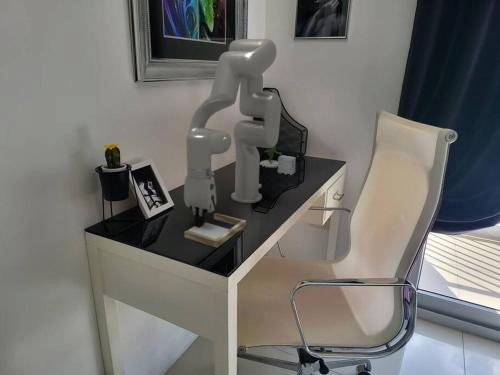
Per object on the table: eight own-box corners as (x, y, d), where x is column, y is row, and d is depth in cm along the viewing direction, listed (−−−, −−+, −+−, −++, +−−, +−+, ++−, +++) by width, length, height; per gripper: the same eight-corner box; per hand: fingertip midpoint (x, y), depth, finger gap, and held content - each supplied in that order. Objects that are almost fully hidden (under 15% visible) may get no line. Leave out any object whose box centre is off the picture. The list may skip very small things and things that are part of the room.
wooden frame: (215, 217, 121) (215, 212, 121) (245, 226, 116) (246, 220, 115) (184, 237, 107) (184, 231, 106) (217, 247, 101) (217, 241, 101)
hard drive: (233, 230, 111) (203, 220, 117) (219, 240, 105) (187, 229, 110) (233, 234, 112) (203, 225, 118) (219, 244, 105) (187, 234, 111)
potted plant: (284, 163, 194) (286, 146, 190) (275, 168, 184) (276, 150, 180) (266, 160, 199) (266, 143, 196) (256, 165, 189) (256, 146, 186)
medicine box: (294, 173, 176) (296, 157, 173) (291, 175, 172) (292, 159, 169) (281, 171, 180) (282, 154, 177) (277, 173, 176) (278, 156, 173)
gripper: (225, 173, 108) (225, 226, 114) (187, 166, 114) (188, 216, 120) (212, 179, 101) (212, 235, 107) (172, 171, 108) (174, 224, 114)
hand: (199, 225), depth 114 cm, fingers closed
